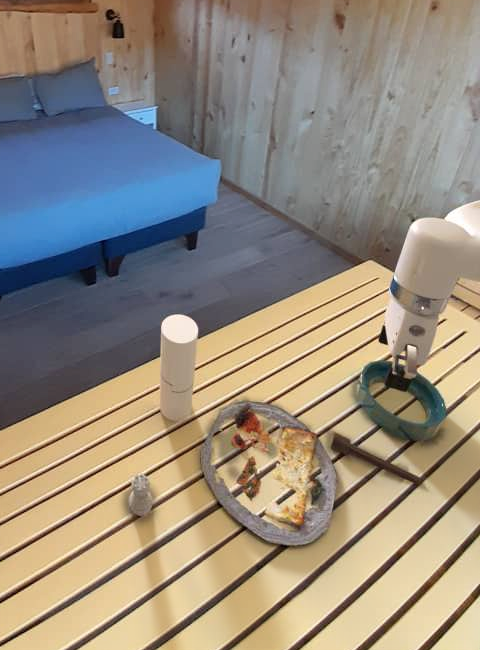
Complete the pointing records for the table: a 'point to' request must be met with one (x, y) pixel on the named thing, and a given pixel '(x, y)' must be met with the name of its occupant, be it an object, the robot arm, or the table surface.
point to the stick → (369, 457)
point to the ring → (389, 421)
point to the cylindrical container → (177, 366)
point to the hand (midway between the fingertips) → (391, 364)
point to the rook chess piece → (140, 495)
